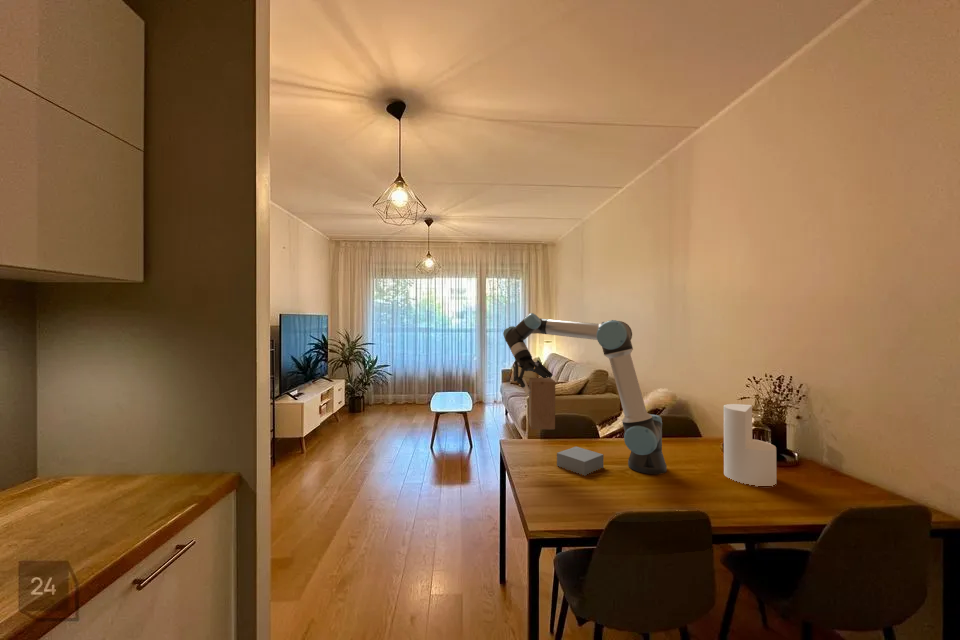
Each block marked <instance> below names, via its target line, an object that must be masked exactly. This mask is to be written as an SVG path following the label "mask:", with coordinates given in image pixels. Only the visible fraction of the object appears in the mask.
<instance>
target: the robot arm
mask: <svg viewBox="0 0 960 640" xmlns="http://www.w3.org/2000/svg"><path fill="white" fill-rule="evenodd" d="M503 330H504V331H503V333H502V335H503V337H504V340H505V342H506V344H507V345H508V348H509V350H510V352H511V354H512V356H513V358H514V360H515V361H514V362H513V364H512V368H513V381H514V382H516V383H517V384H519V385H520V387H521V388H522V389H523V391H524V392H525V395H526V396H529V392H530V389H529V384H528V383H527V381H526V379H525V378H524V376H525V375H524V374H525V372H532V373H535V374H537V375H538V376H540V378H552V377H553V372H551V371H550V370H548V369H547V367H545V366H544V365H543V364H542V362H541V361H540V360H539V359H537V360H536V361H534V360H533V356H532V354H531V352H530V351H529V348H528V347H527V345H526V343H525V342H524V341H525V340H526V339H527V338H528V337H530V336H531V335H532V334H540V335H551V336H559V337H567V338H568V337H569V338H577V339H583V340H584V339H585V340H593V341H594V340H595V341H597V342H598V345H600V346H601V348H602V349H601V350H602V352H603V356H604V357H606V358H608V359H609V364H610V366H611V367H610V368H611V370H612V374H613V378H614V381H615V385H616V389H617V393H618V396H619V401H620V403H621V408H622V410H623V415H624V416H623V418H622V419H621V421H622V422H621V423H622V426H623V430H624V435H623V439H624V440H623V441H624V444H625V446H626V447H627V448H628V450H629V451H630V454H629V457H628V460H627V465H628V467H629V468H630V469H631V470H634V471H636V472H638V473H642V474H647V475H648V474H649V475H661V474H662V475H663V474H665V473H666V472H667V468H668V467H667V463H666V461H665V457H664V454H663V430H662V429H663V422H662V421H663V419H662V416H660V415H657V414H651V413H648V411H647V409H646V404H645V401H644V399H643V398H644V397H643V394H642V391H641V388H640V383H639V379H638V377H637V373H636V372H637V371H636V369H635V365H634V362H633V359H632V356H631V353H632V352H633V350H634V347H633V344H632V339H633V330H632V329H631V327H630V325H629V324H628V323H626V322H625V321H622V320H616V319H615V320H614V319H611V320H608V321H601V322H600V323H594V322H585V321H584V322H583V321H582V322H581V321H573V320H571V321H570V320H562V319H561V320H559V319H550V318H549V319H547V318H540V317H539V316H538V315H536V314H535V313H533V312H531V313H530V312H529V314H528V315H526V316H525V317H524V318H523V319H522V320H520V322H518V324H517V325H516V326H514V325H512V326H511V325H510V326H508V327H506V328H505V329H503ZM519 368H521V369H520V373H519Z"/></svg>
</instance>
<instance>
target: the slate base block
mask: <svg viewBox="0 0 960 640" xmlns="http://www.w3.org/2000/svg"><path fill="white" fill-rule="evenodd" d="M558 466H559V467H558ZM556 467H558V468H561V467H562V469H564V468H565V469H564V470H567V471H569V470H571V471H570V472H572V471H573V472H572V473H575V472H576V473H575V474H578V473H579V474H578V475H581V474H582V475H581V476H583V475H584V477H585V476H588V475H589V473H590V474H592V473H594V472H593V471H595V472H596V470H597V471H599V470H601V469H600V468H602V469H603V468H604V454H603V453H599V452H597V451H592V450H590V449H586V448H583V447H579V446H573V447H571V448H568V449H565V450H561V451H559V452H556ZM598 469H599V470H598ZM591 472H592V473H591ZM587 474H588V475H587Z"/></svg>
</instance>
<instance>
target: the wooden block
mask: <svg viewBox="0 0 960 640" xmlns="http://www.w3.org/2000/svg"><path fill="white" fill-rule="evenodd" d="M528 387H529V389H530V392H529V394H528V425H529V426H530V429H531V430H555V429H556V381H555V380H554V379H553V378H552V377H551V378H543V377H529V378H528Z"/></svg>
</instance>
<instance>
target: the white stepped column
mask: <svg viewBox="0 0 960 640" xmlns="http://www.w3.org/2000/svg"><path fill="white" fill-rule="evenodd" d="M723 475H724V476H725V477H726V478H728V479H729V478H730V480H731V479H732V480H731V481H733V480H734V482H736V481H737V482H736V483H739V482H740V484H743V483H744V484H743V485H746V484H749V485H748V486H751V485H755V486H754V487H758V486H772V487H774V486H773V485H775V484H776V485H777V447H776V445H774V444H771V443H770V442H768V441H767V442H766V441H764V440H759V439H754V438H753V405H752V404H743V403H728V404H724V405H723ZM776 485H775V486H776Z"/></svg>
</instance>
